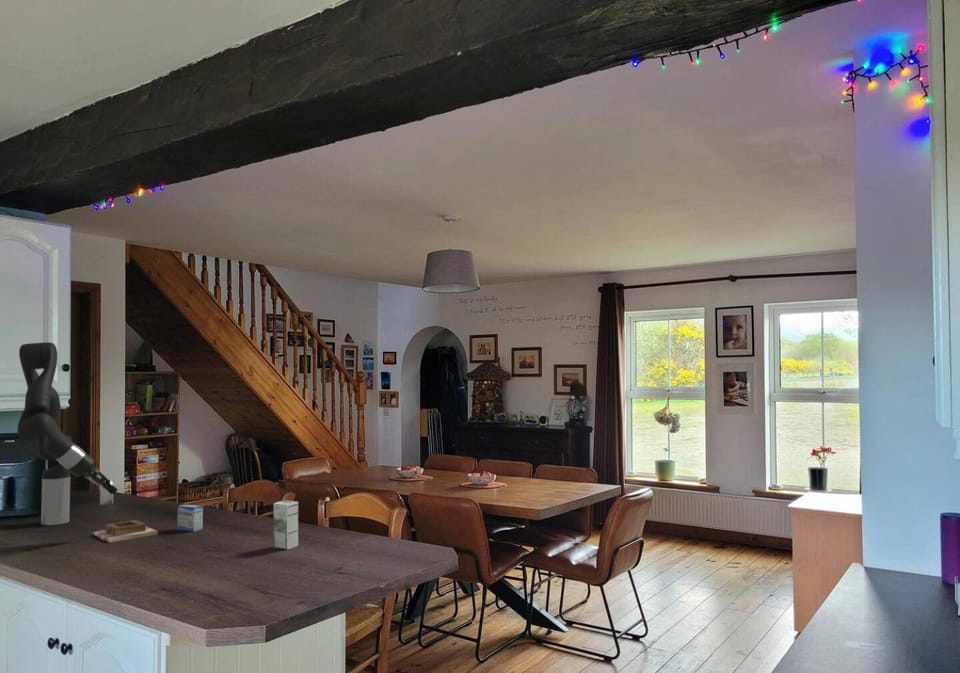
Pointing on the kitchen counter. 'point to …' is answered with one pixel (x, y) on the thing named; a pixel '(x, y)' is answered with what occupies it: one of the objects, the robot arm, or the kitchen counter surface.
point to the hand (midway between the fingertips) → (112, 491)
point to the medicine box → (190, 518)
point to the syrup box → (285, 524)
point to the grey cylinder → (106, 495)
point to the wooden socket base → (124, 531)
